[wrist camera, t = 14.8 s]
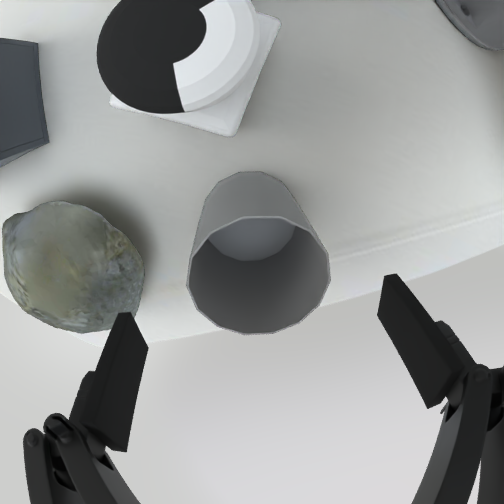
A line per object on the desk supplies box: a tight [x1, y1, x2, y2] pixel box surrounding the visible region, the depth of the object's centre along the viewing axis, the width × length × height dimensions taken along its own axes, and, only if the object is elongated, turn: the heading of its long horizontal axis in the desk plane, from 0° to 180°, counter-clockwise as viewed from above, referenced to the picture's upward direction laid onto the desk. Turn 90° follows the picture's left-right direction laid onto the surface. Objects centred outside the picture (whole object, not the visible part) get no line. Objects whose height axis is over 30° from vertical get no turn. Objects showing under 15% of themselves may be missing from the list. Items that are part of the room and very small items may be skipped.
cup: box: [186, 172, 331, 335], centre depth 20 cm, size 8×8×10 cm
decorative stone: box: [2, 201, 145, 334], centre depth 22 cm, size 14×15×10 cm
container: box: [97, 0, 281, 137], centre depth 13 cm, size 8×8×13 cm
